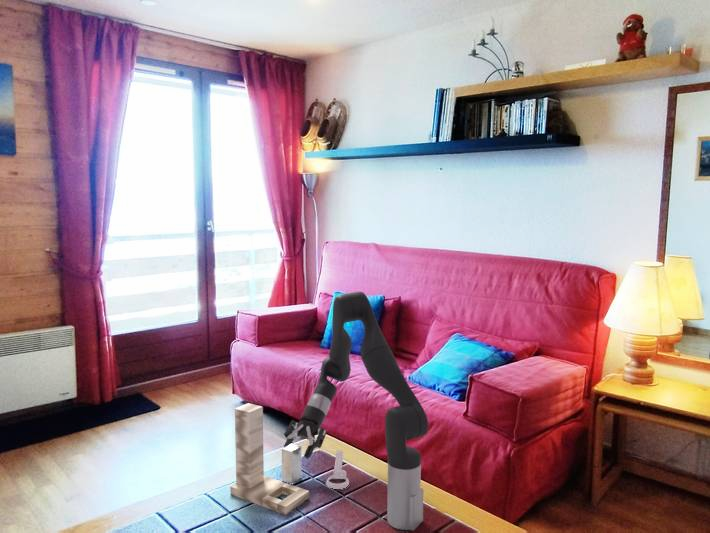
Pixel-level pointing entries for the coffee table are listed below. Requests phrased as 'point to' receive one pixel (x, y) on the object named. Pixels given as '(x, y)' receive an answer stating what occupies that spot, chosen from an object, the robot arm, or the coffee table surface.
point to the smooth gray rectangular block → (291, 463)
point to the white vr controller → (338, 473)
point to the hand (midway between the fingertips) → (295, 454)
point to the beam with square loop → (259, 466)
